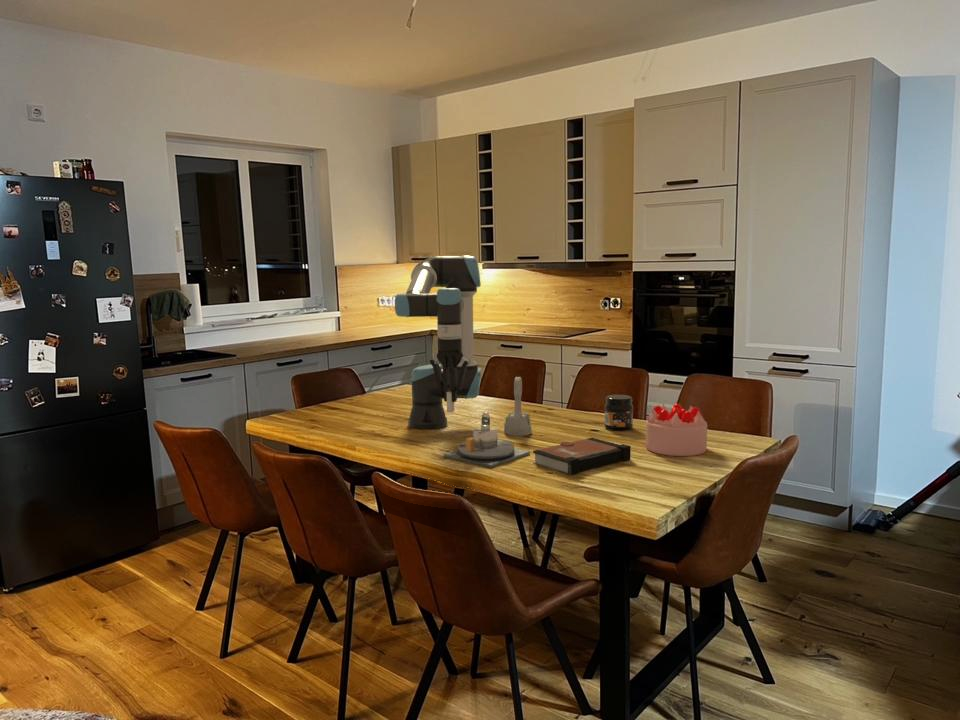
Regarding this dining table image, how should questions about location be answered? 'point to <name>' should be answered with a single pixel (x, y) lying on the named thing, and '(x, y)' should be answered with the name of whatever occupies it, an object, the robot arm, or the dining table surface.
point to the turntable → (486, 450)
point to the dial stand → (485, 419)
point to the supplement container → (618, 413)
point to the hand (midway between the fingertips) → (450, 411)
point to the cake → (676, 431)
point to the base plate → (487, 462)
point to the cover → (485, 437)
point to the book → (581, 455)
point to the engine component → (517, 415)
